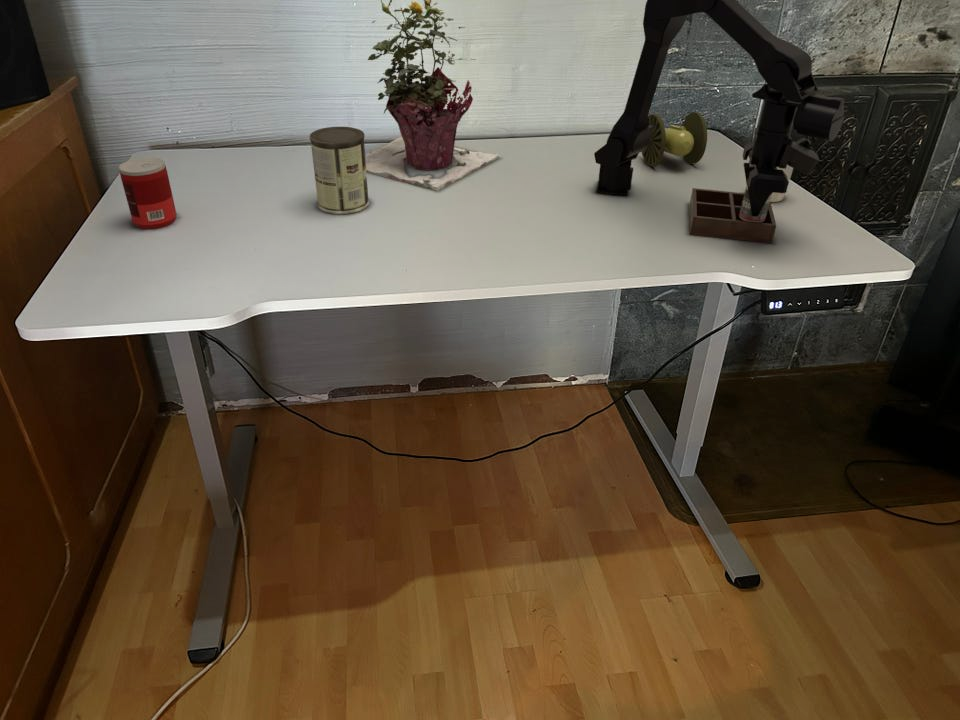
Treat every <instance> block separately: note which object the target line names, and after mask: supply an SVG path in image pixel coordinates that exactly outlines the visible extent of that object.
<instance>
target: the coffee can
mask: <svg viewBox="0 0 960 720" xmlns="http://www.w3.org/2000/svg"><path fill="white" fill-rule="evenodd" d="M365 137H366V136H365V132H364V131H362V130H361V129H358V128H356V127H350V126H329V127H322V128H319V129H316V130H314V131H312V132H311V133H310V134H309V141H310V147H311V155H312V164H313V172H314V181H315V190H316V199H317V208H318V209H319V210H321V211H322V212H325V213H328V214H335V215H350V214H354V213H359V212H361V211H363V210H365V209H367V207H369V204H370V200H369V189H368V188H369V187H368V178H367V177H368V176H367V172H366V160H365V155H366V149H365Z"/></svg>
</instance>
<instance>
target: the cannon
mask: <svg viewBox="0 0 960 720" xmlns="http://www.w3.org/2000/svg"><path fill="white" fill-rule="evenodd" d="M648 122H649V125H651V126H654V127H655V128H654V131H653V133H652V135H651V138H650V145H648V146H646V148H645V149H644V150H643V151H642V152H641V155H642V158H643V161H644V162H645V164H646V165H647V166H649V167H656V166H658V165H659V164H660V163H661V161H662V159H663V157H664V154H665V153H668V154H670V155H673V156H675V157H683V160H684V161H685V162H686V163H688V164H690V165H691V164H697V163H699V162H700V161H701V160H702V159H703V157H704V155H705V152H706V149H707V143H708V128H707V127H708V126H707V122H706V119H705V117H704V116H703V115H702V113H701V112H699V111H691V112H690V113H688V114H687V115H686V117H685V118H684V120H683V123H682V125H681V126H680V125H679V126H678V125H676V124H675V125H674V124H670V125H669V127H665V123H664V121H663V118H662V117H661V116H660V115H659V114H657V113H651V114H648Z"/></svg>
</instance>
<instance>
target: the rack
mask: <svg viewBox="0 0 960 720" xmlns="http://www.w3.org/2000/svg"><path fill="white" fill-rule="evenodd" d="M691 189H692V190H691V195H690V199H689V204H688V205H689V235H691V236H699V237H700V236H701V237H710V238H718V239H719V238H720V239H728V240H736V241H744V242H753V243H762V244H764V243H765V244H771V245H772V243H773V240H774V236H775V234H776V233H775V232H776V229H777V222H776V219H775V215H774V211H773V206H772V202H770V203H769V207H768V210H767V214H766V218H765V220H764V221H763V222H761V223H758V222H749V221H744V220H742V219H741V218H740V217H739V214H740V210H741V206H742V202H743V198H744V193H745V192H735V191H726V190H716V189H708V188H707V189H705V188H696V187H692V188H691Z"/></svg>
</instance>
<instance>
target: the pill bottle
mask: <svg viewBox="0 0 960 720" xmlns="http://www.w3.org/2000/svg"><path fill="white" fill-rule="evenodd" d="M743 193H744V198H743V202H742V206H741V210H740V214H739V217H740V218H741V219H742V220H744V221H749V222H758V223H761V222H763V221H764V220H765V218H766V214H767V210H768V207H769V203H770V199H771V195H772V194H771V195H770V196H769V198H768V199H767V201H766V203H765V205H764V206H763V208H762V210H761V212H760V213H759V215H758V216H757V217H756V216H752V214H751V207H750V201H749V194H748V187H747V185H746V187H745V190H744V192H743Z"/></svg>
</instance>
